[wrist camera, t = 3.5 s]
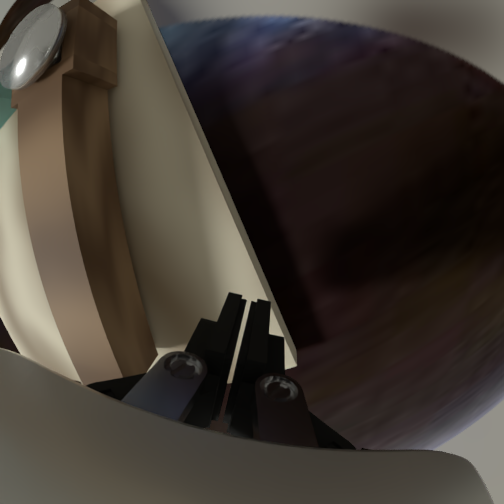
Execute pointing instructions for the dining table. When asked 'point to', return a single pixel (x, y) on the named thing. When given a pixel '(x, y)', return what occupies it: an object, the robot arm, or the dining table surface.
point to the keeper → (5, 105)
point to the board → (143, 211)
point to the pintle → (33, 47)
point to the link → (81, 203)
